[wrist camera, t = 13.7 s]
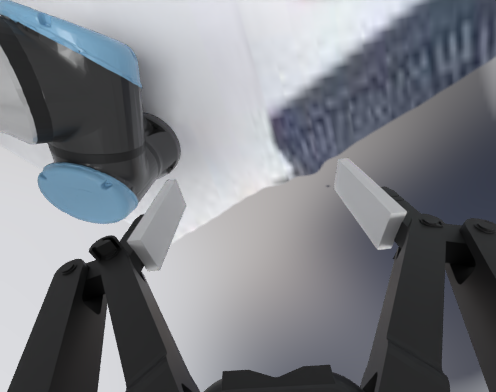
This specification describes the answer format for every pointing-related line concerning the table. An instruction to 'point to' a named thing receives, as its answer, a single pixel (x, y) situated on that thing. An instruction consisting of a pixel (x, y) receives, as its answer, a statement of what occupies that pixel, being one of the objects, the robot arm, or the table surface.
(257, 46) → the table surface
